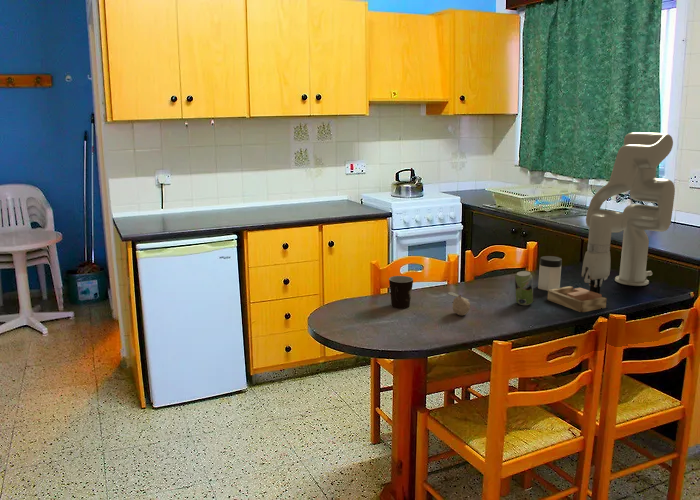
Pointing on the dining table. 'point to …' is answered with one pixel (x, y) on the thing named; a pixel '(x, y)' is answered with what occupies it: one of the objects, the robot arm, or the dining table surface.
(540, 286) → the jar
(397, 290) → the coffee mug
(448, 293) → the butter knife
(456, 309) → the garlic bulb
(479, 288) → the dining table surface
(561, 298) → the dock
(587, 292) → the t block
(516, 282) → the beverage can
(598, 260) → the robot arm
